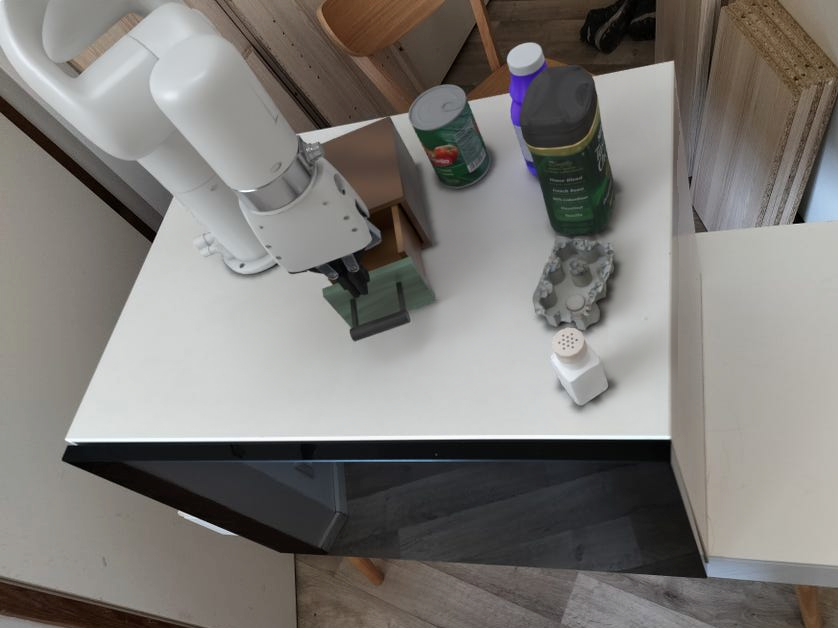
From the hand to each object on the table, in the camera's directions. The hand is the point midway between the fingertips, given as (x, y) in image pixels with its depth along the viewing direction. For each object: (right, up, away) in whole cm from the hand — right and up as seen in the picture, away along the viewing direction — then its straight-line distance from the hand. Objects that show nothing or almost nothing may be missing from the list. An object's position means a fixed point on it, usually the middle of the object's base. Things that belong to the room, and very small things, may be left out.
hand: (360, 286), depth 76 cm
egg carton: (+25, 0, +3) cm, 25 cm away
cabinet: (0, +11, +19) cm, 22 cm away
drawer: (+2, +1, +11) cm, 11 cm away
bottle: (+24, +17, +14) cm, 32 cm away
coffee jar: (+27, +11, +9) cm, 30 cm away
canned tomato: (+11, +19, +19) cm, 29 cm away
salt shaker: (+25, -11, -3) cm, 27 cm away
